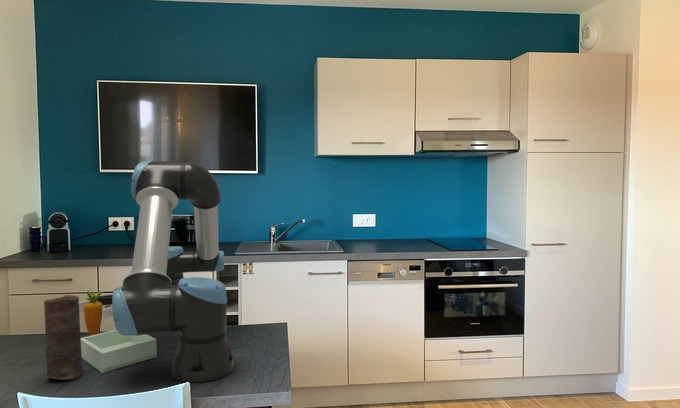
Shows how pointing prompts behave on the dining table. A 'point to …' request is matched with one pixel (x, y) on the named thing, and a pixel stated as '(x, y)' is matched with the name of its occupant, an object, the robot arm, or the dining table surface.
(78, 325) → the candle
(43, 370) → the dining table surface
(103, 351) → the bin
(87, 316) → the carrot
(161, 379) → the dining table surface
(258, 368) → the dining table surface
